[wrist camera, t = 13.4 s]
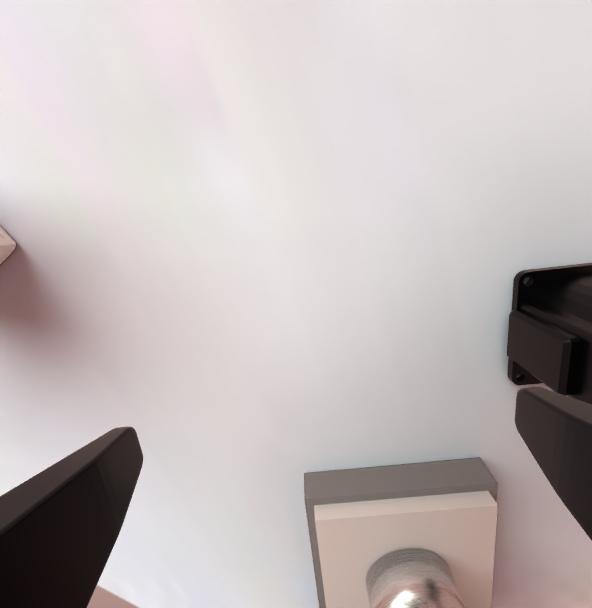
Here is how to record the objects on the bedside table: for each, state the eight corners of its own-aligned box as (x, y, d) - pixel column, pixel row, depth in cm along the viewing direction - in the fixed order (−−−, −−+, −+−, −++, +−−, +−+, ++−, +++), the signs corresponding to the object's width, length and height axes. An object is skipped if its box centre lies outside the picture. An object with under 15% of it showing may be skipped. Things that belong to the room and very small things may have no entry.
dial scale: (479, 457, 22) (539, 542, 16) (473, 609, 25) (519, 718, 20) (304, 473, 22) (305, 561, 17) (323, 619, 26) (330, 729, 21)
